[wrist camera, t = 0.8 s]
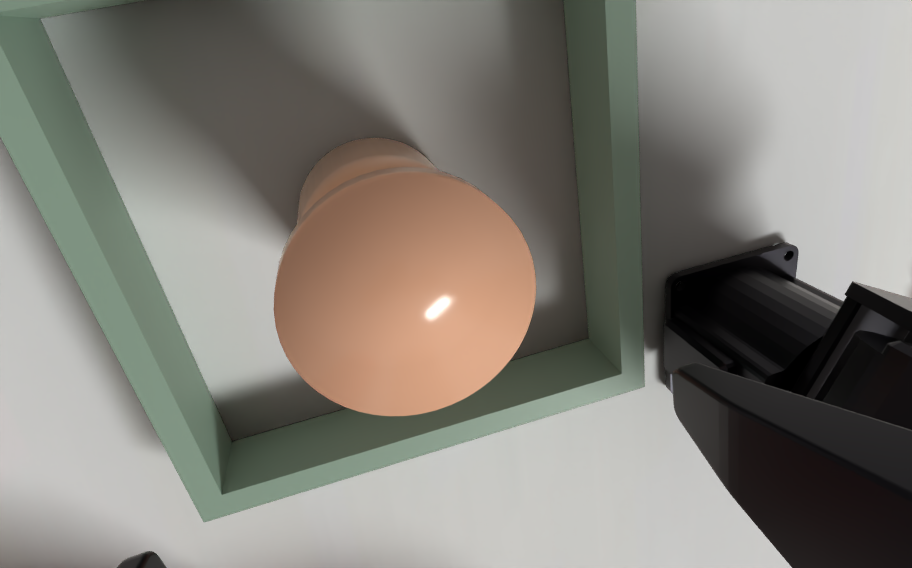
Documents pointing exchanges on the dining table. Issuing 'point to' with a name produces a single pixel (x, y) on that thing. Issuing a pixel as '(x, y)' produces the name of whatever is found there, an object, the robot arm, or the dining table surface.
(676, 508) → the dining table surface
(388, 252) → the peach mushroom knob
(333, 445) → the cold frame
